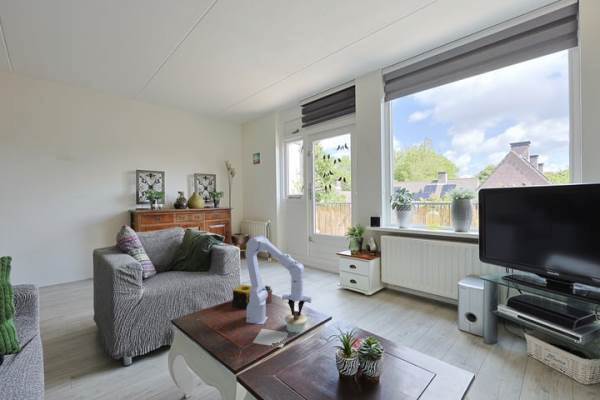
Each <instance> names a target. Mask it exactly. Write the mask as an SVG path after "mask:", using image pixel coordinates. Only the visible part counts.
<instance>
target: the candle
mask: <svg viewBox="0 0 600 400" xmlns="http://www.w3.org/2000/svg"><path fill="white" fill-rule="evenodd" d="M251 287H252V286H251V285H245V284H240V285H238V286H237V287H235V288H234V289H232V300H231V302H232V304H231V306H232V307H233V308H238V309H243V310H247V305H248V303H249V302H250V301H249V297H250V293H249V292H250V290H251Z"/></svg>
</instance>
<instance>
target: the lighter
mask: <svg viewBox="0 0 600 400" xmlns="http://www.w3.org/2000/svg"><path fill="white" fill-rule="evenodd" d="M264 286H265V289H266V290H267V292H268V297H267V299H266V304H272V303H273V289H272V288H271V286H270V285H264Z"/></svg>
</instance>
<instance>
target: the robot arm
mask: <svg viewBox="0 0 600 400" xmlns="http://www.w3.org/2000/svg"><path fill="white" fill-rule="evenodd" d="M245 246H246V249H245V253H244V254H245V260H246V264H247V269H248V275H249V280H250V286H252V287H251V290H250V292H249V293H250V297H249V301H250V302H249V303H248V305H247V309H246V318H245V319H246V321H245V322H246V323H251V324H256V325H264V324H265V322H266V321H267V319H268V318H269V317H268V316H266V310H267V309H266V306H267V305H266V304H267V303H266V299H267V297H268V292H267V290H266V289H265V286H266V285H265V284H263V283H262V276H261V273H260V272H261V271H260V266H259V262H258V256H257V254H258V253H259V252H260V251H267V252H268V253H269V254H270V255H272V256H274V257H275V258H276V259H277V260H278V263H279V264H280V265H281V266H282V267H284V268H285V269H286V270H287V271H289V275H290V276H291V280H290V281H291V282H290V294H282V296H281V300H282V301H283V300H285V301H286V300H287V301H288V302H287V305H288V306H289V309H290V311H291V314H292V315H294V311H295V304H296V302H298V304H297V305H298V316H300V315H302V314H301V313H302V310H303V306H304V305H305V303H308V304H311V303H312V297H310V296H306V295H304V293H303V291H304V290H303V289H304V288H303V286H304V285H303V284H304V278H303V277H304V274H303V273H304V272H305V265H304V264H303V262H300V261H297V260H295V259H294V258H293V257H291V255H290V253H288V254H287V253H282V251H281V250H279V249H278V248H277V247H276V246H275V245H274V244H273V243H272V242H270V240H269V239H268V237H267V238H266V236H264V235H261V234H260V235H258V236H256V237H252V238H249V240H248V241H247V242H246V245H245Z"/></svg>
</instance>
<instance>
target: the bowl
mask: <svg viewBox="0 0 600 400" xmlns="http://www.w3.org/2000/svg"><path fill="white" fill-rule="evenodd" d="M304 329H305V330H306V323H305V324H302V325H291V324H288V323H287V322H286V330H287V332H289V333H292V332H296V333H295V334H298V333H297V332H301V331H303V330H304ZM305 330H304V331H305ZM304 331H303V332H304ZM301 333H302V332H301Z"/></svg>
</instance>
